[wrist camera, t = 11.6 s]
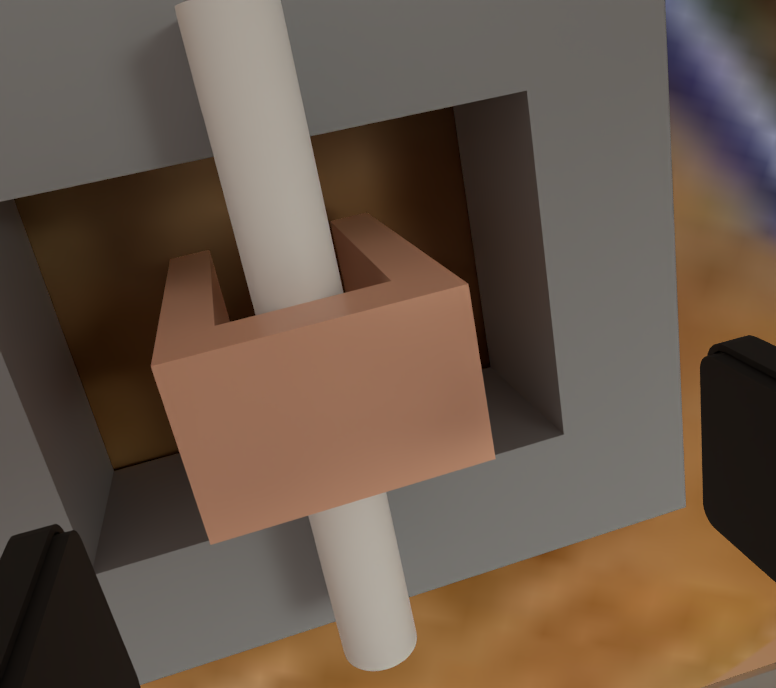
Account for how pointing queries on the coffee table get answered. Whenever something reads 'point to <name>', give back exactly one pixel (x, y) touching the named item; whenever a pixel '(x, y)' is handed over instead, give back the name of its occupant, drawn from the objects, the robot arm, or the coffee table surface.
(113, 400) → the coffee table surface
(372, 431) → the clip
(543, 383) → the grey rectangular frame
